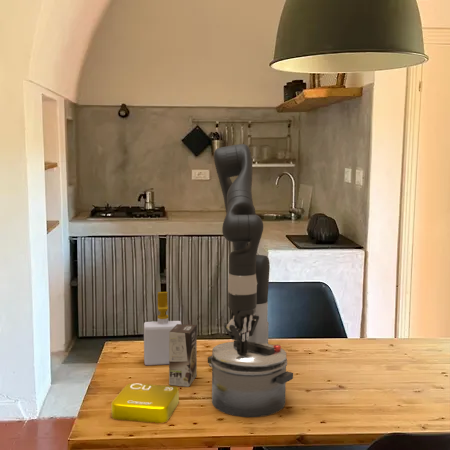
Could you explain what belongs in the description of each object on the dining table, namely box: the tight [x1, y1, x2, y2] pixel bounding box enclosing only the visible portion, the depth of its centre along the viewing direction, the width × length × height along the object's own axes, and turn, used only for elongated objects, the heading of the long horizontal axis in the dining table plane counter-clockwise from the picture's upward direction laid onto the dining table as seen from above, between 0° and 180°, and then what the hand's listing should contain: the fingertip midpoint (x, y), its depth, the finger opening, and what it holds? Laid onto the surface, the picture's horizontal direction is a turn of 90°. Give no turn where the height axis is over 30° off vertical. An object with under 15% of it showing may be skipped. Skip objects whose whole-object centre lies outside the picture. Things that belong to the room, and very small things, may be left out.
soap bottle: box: [143, 291, 182, 366], centre depth 195 cm, size 12×7×23 cm, turn 99°
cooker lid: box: [211, 340, 287, 367], centre depth 164 cm, size 20×20×3 cm
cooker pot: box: [207, 355, 294, 418], centre depth 165 cm, size 22×25×12 cm
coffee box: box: [168, 323, 198, 388], centre depth 179 cm, size 9×6×16 cm
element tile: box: [110, 382, 180, 424], centre depth 160 cm, size 15×15×5 cm
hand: (241, 353), depth 161 cm, fingers closed
